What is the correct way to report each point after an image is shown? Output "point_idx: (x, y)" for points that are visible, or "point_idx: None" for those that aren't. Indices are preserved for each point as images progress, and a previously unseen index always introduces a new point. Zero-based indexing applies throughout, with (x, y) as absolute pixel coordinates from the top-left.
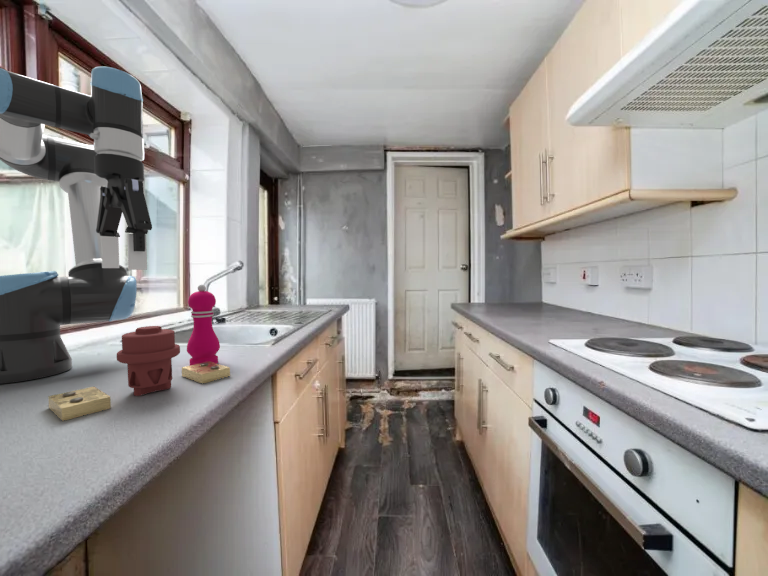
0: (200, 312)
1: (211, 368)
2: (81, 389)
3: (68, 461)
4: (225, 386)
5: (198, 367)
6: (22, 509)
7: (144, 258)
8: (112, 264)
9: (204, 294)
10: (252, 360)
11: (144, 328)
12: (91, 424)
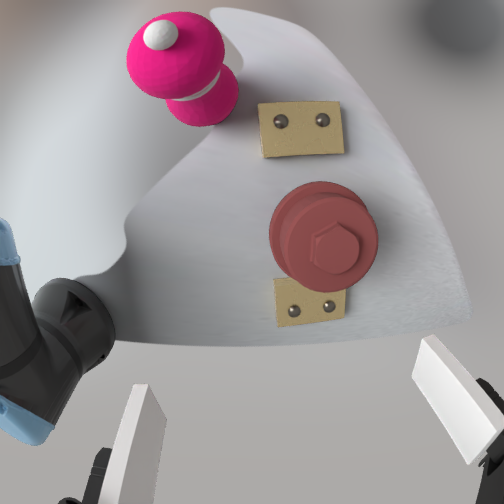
0: (214, 79)
1: (324, 126)
2: (278, 299)
3: (427, 306)
4: (377, 137)
5: (292, 136)
6: (452, 320)
7: (454, 364)
8: (152, 411)
9: (208, 43)
10: (254, 27)
11: (347, 262)
12: (373, 290)
